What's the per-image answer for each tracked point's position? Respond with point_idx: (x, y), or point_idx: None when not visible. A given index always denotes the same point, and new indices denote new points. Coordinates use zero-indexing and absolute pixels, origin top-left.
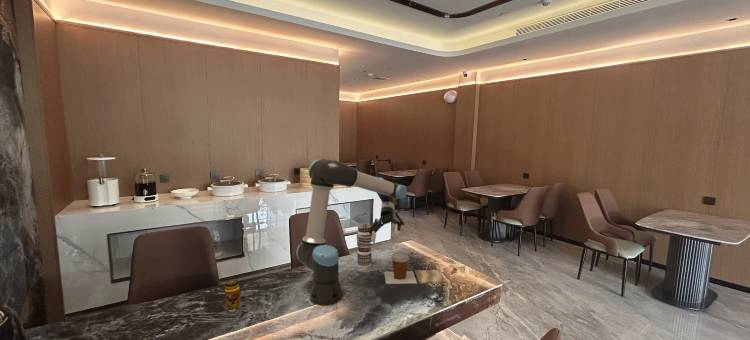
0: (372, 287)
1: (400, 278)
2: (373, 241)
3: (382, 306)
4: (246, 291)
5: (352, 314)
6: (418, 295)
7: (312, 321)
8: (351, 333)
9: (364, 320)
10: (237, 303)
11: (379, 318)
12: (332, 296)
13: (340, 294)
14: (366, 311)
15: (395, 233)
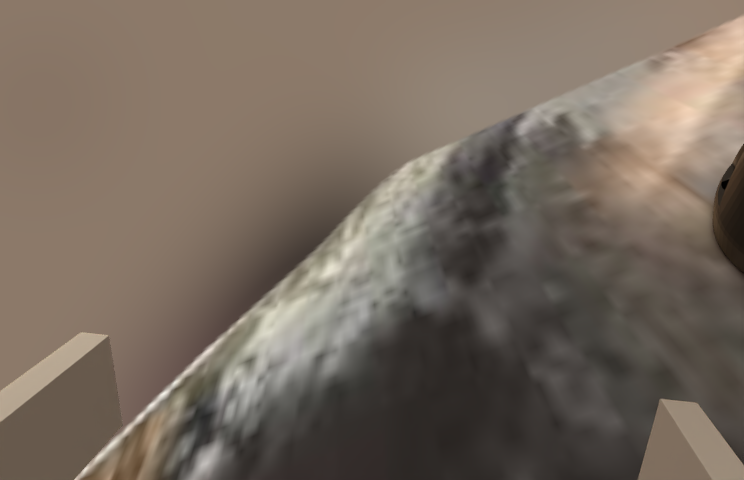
0: (598, 457)
1: None
2: (651, 448)
3: (452, 278)
4: None
5: (564, 180)
6: (280, 444)
7: (704, 84)
8: (510, 117)
9: (495, 176)
10: None
11: (442, 208)
12: (734, 159)
13: (719, 213)
14: (512, 220)
15: (107, 343)
